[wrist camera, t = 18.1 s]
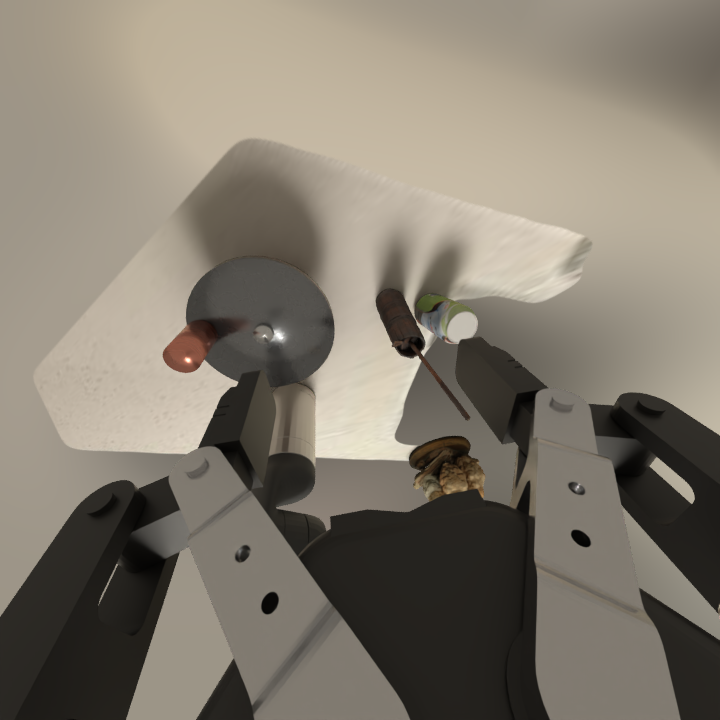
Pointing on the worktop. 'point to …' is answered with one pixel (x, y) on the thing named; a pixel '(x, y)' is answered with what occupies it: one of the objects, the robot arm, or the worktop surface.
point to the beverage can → (446, 318)
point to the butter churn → (407, 333)
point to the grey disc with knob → (255, 322)
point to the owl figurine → (446, 467)
